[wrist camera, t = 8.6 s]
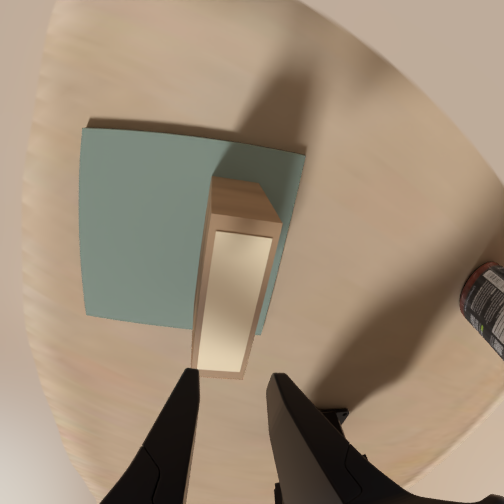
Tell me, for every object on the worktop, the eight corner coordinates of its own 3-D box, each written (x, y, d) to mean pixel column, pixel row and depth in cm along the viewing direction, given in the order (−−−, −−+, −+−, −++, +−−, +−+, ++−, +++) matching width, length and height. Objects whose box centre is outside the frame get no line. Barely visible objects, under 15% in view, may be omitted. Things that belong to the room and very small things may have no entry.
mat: (259, 330, 21) (260, 335, 21) (88, 310, 19) (86, 315, 19) (303, 154, 16) (305, 156, 16) (85, 127, 14) (82, 128, 14)
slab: (233, 307, 20) (242, 380, 14) (194, 303, 19) (190, 376, 14) (258, 183, 16) (283, 224, 11) (211, 175, 16) (211, 213, 10)
